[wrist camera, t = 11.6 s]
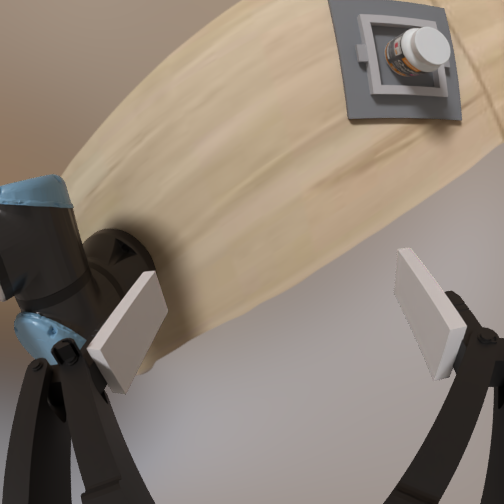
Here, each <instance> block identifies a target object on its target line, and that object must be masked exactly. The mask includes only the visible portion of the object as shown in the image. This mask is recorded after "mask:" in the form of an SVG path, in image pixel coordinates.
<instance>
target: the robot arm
mask: <svg viewBox="0 0 504 504" xmlns="http://www.w3.org/2000/svg"><path fill="white" fill-rule="evenodd" d="M73 208H74V206H73V204H72V203H71V201H70V198H69V194H68V191H67V187H66V184H65V181H64V180H63V179H62V178H61V177H60V176H58V175H53V174H52V175H46V176H41V177H36V178H32V179H27V180H23V181H19V182H14V183H11V184H7V185H3V186H0V301H2V302H4V301H6V300H8V299H10V298H11V297H13V296H15V298H16V300H17V303H18V305H19V307H20V309H21V313H19V314H18V315H17V316H16V319H15V321H14V326H15V327H14V329H15V333H16V336H17V338H18V340H19V341H20V343H21V344H22V345H23V346H24V348H25V349H26V350H27V351H28V352H29V353H30V354H31V355H32V356H33V357H34V358H35V360H34V361H32V362H31V363H30V364H29V365H28V368H27V370H26V373H25V377H24V380H23V384H22V388H21V391H20V395H19V399H18V403H17V407H16V411H15V416H14V421H13V425H12V430H11V436H10V442H9V448H8V453H7V460H6V468H5V476H4V486H3V499H2V504H72V501H71V475H70V474H71V471H70V457H71V456H70V455H71V439H72V442H73V447H74V451H75V455H76V459H77V462H78V466H79V469H80V473H81V476H82V480H83V483H84V486H85V490H86V491H85V493H82V494H81V500H82V504H155V502H154V500H153V499H152V497H151V495H150V493H149V491H148V489H147V488H146V485H145V483H144V482H143V479H142V477H141V475H140V473H139V471H138V469H137V467H136V465H135V463H134V461H133V458H132V456H131V454H130V452H129V449H128V447H127V445H126V442H125V440H124V438H123V435H122V433H121V430H120V428H119V425H118V423H117V420H116V417H115V415H114V412H113V409H112V407H111V404H110V401H109V398H108V395H107V394H106V392H105V390H104V389H105V387H106V385H107V384H108V386H109V387H110V389H111V391H112V392H113V393H120V394H126V393H127V391H128V389H129V387H130V385H131V383H132V381H133V379H134V377H135V375H136V373H137V371H138V369H139V367H140V365H141V363H142V361H143V359H144V357H145V355H146V353H147V351H148V349H149V347H150V345H151V343H152V342H153V340H154V338H155V336H156V334H157V332H158V330H159V328H160V326H161V324H162V322H163V320H164V319H165V317H166V315H167V313H168V308H167V305H166V302H165V299H164V296H163V293H162V290H161V287H160V284H159V281H158V278H157V275H156V271H155V266H154V263H153V261H152V258H151V256H150V255H149V253H148V251H147V250H146V249H145V247H144V246H143V245H142V244H141V243H140V242H139V241H138V240H137V239H135V238H134V237H133V236H131V235H130V234H128V233H126V232H123V231H121V230H117V229H103V230H100V231H97V232H96V233H94V234H93V235H92V236H90V237H89V238H88V239H87V240H86V241H85V242H84V243H83V244H82V241H81V238H80V234H79V230H78V227H77V223H76V219H75V215H74V211H73ZM394 295H395V297H396V299H397V301H398V303H399V305H400V307H401V309H402V311H403V313H404V315H405V317H406V319H407V321H408V324H409V326H410V328H411V330H412V332H413V334H414V337H415V339H416V341H417V343H418V345H419V348H420V350H421V352H422V355H423V357H424V359H425V362H426V364H427V366H428V369H429V371H430V373H431V376H432V378H433V381H436V380H440V379H444V378H448V377H450V374H451V371H452V369H453V368H454V370H455V372H456V377H455V379H454V382H453V384H452V386H451V388H450V391H449V393H448V395H447V398H446V400H445V402H444V404H443V406H442V408H441V410H440V412H439V414H438V416H437V418H436V420H435V422H434V424H433V426H432V428H431V430H430V431H429V433H428V435H427V437H426V439H425V441H424V442H423V444H422V446H421V448H420V449H419V451H418V453H417V454H416V456H415V458H414V460H413V461H412V462H411V464H410V466H409V467H408V469H407V470H406V472H405V474H404V475H403V476H402V478H401V480H400V481H399V483H398V484H397V485H396V487H395V488H394V490H393V491H392V492H391V494H390V495H389V497H388V498H387V499H386V501H385V502H384V503H383V504H438V503H439V501H440V499H441V497H442V495H443V494H444V492H445V490H446V488H447V486H448V484H449V482H450V480H451V478H452V477H453V475H454V473H455V471H456V469H457V467H458V465H459V462H460V460H461V458H462V456H463V454H464V452H465V449H466V447H467V445H468V442H469V440H470V438H471V435H472V433H473V430H474V428H475V425H476V422H477V420H478V417H479V414H480V411H481V408H482V405H483V402H484V399H485V396H486V393H487V390H488V387H494V408H493V426H492V437H491V446H490V455H489V462H488V468H487V474H486V480H485V485H484V490H483V495H482V499H481V503H480V504H504V338H499V336H498V335H497V333H495V332H494V331H493V330H491V329H489V328H484V327H482V326H481V325H480V324H479V322H478V321H477V319H476V318H475V316H474V315H473V314H472V312H471V311H470V310H469V308H468V307H467V305H466V304H465V303H464V301H463V300H462V298H461V297H460V296H459V295H457V294H456V293H454V292H453V291H446V292H444V291H443V290H442V289H441V287H440V286H439V284H438V283H437V282H436V280H435V279H434V278H433V276H432V275H431V274H430V272H429V271H428V270H427V268H426V267H425V266H424V264H423V263H422V262H421V261H420V259H419V258H418V257H417V255H416V254H415V253H414V252H413V250H412V249H411V248H402V249H397V263H396V276H395V288H394Z"/></svg>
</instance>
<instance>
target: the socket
mask: <svg viewBox="0 0 504 504" xmlns="http://www.w3.org/2000/svg"><path fill="white" fill-rule="evenodd" d="M328 4H329V8H330V13H331V17H332V22H333V27H334V32H335V37H336V42H337V48H338V53H339V59H340V65H341V72H342V78H343V85H344V92H345V100H346V107H347V116H348V119H359V118H429V119H449V120H462V114H461V102H460V92H459V83H458V75H457V68H456V62H455V56H454V50H453V45H452V40H451V35H450V31H449V26H448V22H447V18H446V14H445V10H444V8H439V7H434V6H428V5H423V4H416V3H409V2H401V1H393V0H328ZM422 27H432V28H434V29H436V30H438V31H440V32H441V33H442V34H443V35H444V36H445V38H446V39H447V41H448V43H449V46H450V51H451V53H450V58H449V60H448V61H447V62H446V63H444V64H442V65H441V66H440V67H439V68H438V69H437V70H435V71H433V72H429V73H424V74H419V75H415V76H409V77H407V76H401V75H399V74H397V73H395V72H394V71H393V70H392V69H391V68H390V67H389V65H388V64H387V62H386V59H385V54H384V52H385V47H386V45H387V44H388V43H389V42H390V41H391V40H392V39H394V38H396V37H397V36H399V35H400V34H402V33H404V32H405V31H407V30H409V29H413V28H422Z"/></svg>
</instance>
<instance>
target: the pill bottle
mask: <svg viewBox="0 0 504 504" xmlns="http://www.w3.org/2000/svg"><path fill="white" fill-rule="evenodd" d="M450 53H451V51H450V46H449V43H448V41H447V39H446V38H445V36H444V35H443V34H442V33H441V32H440V31H438V30H436V29H434V28H432V27H422V28H413V29H409V30H407V31H405V32H404V33H402V34H400V35H399V36H397V37H396V38H394V39H392V40H391V41H390V42H389V43H388V44H387V45H386V47H385V52H384V54H385V59H386V62H387V64H388V65H389V67H390V68H391V69H392V70H393V71H394V72H395V73H397V74H399V75H401V76H407V77H409V76H415V75H419V74H424V73H429V72H433V71H435V70H437V69H438V68H439V67H440V66H441V65H442V64H444V63H446V62H447V61H448V60H449V58H450Z"/></svg>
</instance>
